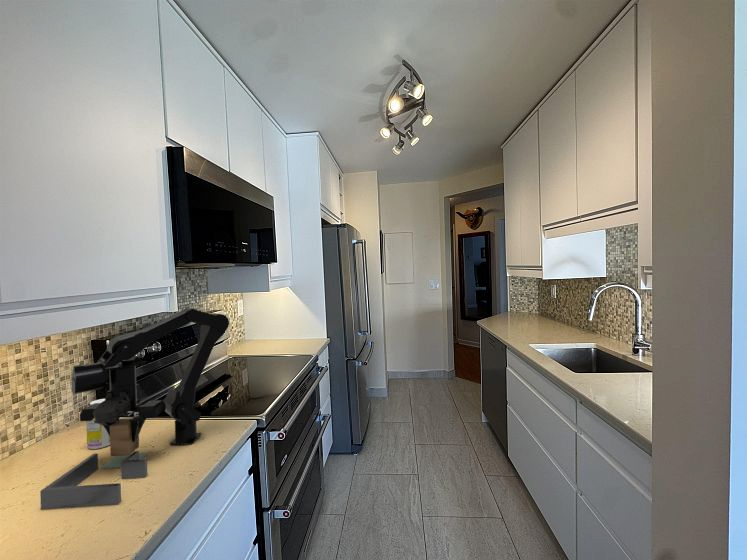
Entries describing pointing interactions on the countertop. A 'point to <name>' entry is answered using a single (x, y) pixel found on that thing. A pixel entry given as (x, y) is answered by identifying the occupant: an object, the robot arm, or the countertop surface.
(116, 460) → the mat
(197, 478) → the countertop surface
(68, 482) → the bent rails
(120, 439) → the walnut block
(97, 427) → the supplement bottle
